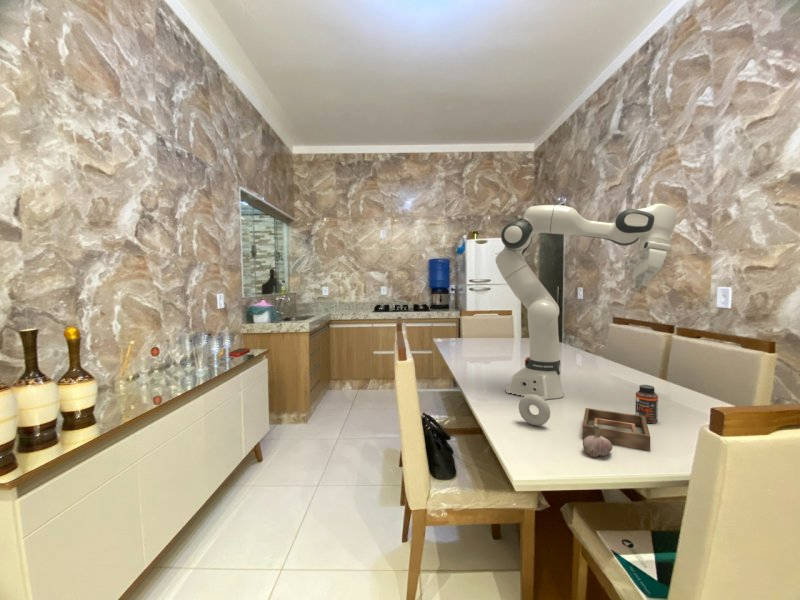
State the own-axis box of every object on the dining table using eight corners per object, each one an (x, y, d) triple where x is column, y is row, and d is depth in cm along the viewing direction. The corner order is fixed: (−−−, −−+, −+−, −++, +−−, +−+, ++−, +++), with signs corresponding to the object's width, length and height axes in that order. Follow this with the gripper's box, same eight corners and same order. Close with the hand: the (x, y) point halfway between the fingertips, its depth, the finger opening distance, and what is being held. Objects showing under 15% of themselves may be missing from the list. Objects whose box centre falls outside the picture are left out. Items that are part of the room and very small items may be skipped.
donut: (516, 423, 113) (516, 392, 113) (521, 419, 116) (520, 390, 116) (548, 431, 107) (547, 399, 106) (552, 427, 109) (551, 396, 109)
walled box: (582, 438, 101) (582, 425, 101) (585, 419, 114) (585, 407, 114) (650, 451, 92) (650, 436, 92) (644, 429, 106) (644, 416, 106)
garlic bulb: (590, 460, 89) (590, 430, 88) (575, 447, 96) (575, 419, 96) (620, 460, 89) (620, 429, 88) (603, 446, 96) (603, 418, 96)
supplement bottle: (636, 422, 111) (636, 387, 111) (634, 416, 117) (634, 382, 116) (659, 425, 108) (659, 389, 108) (656, 418, 114) (656, 384, 113)
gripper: (633, 255, 133) (623, 289, 133) (650, 240, 114) (638, 280, 114) (652, 258, 131) (642, 293, 131) (673, 244, 112) (661, 285, 112)
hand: (640, 287), depth 122 cm, fingers open, 8 cm apart
